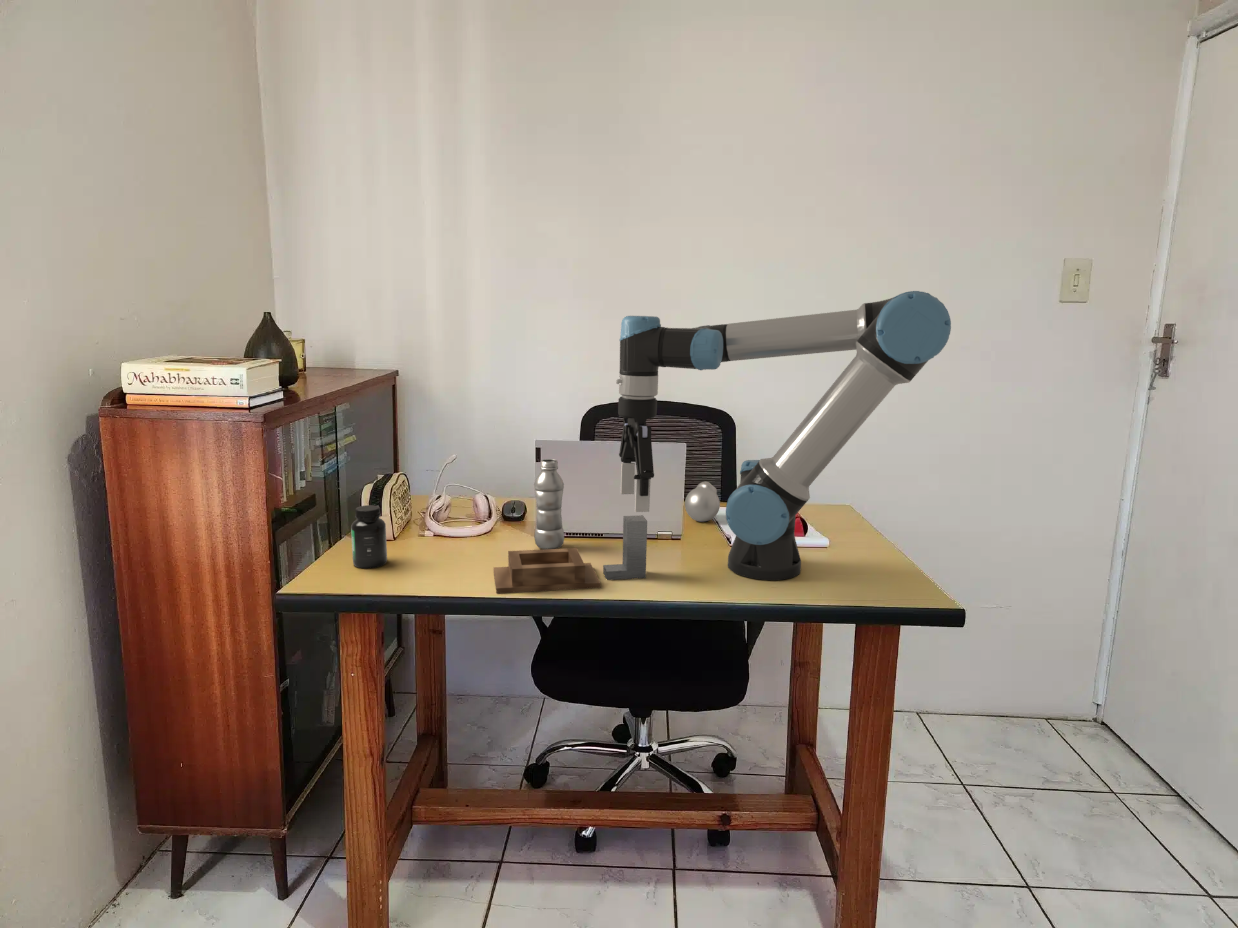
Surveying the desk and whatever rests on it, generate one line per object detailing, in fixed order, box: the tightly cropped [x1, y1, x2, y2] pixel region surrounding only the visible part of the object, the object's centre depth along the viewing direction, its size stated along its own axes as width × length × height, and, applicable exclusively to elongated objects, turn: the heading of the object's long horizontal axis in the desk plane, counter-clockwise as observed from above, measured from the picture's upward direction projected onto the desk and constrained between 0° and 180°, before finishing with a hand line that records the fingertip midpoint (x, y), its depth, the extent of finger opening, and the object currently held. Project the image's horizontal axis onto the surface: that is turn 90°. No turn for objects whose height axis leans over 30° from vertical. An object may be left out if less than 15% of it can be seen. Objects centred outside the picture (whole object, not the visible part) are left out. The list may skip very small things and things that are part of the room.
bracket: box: [602, 514, 648, 581], centre depth 161 cm, size 8×4×12 cm, turn 101°
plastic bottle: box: [533, 458, 565, 550], centre depth 176 cm, size 6×7×20 cm
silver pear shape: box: [684, 480, 721, 523], centre depth 202 cm, size 9×10×10 cm
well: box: [492, 547, 601, 594], centre depth 158 cm, size 20×12×4 cm, turn 101°
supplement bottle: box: [350, 504, 388, 570], centre depth 165 cm, size 7×7×12 cm
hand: (634, 502), depth 159 cm, fingers open, 13 cm apart
